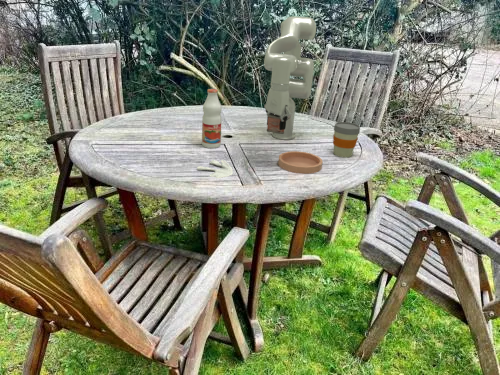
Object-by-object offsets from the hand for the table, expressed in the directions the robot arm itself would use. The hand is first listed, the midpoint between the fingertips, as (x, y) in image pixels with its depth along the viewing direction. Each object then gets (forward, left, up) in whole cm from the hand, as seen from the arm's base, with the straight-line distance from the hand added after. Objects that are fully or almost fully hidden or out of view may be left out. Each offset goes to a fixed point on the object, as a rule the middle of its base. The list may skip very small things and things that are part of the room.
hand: (275, 126), depth 180 cm
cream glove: (-10, -26, -18) cm, 33 cm away
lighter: (0, 0, -3) cm, 3 cm away
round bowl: (+9, +9, -17) cm, 22 cm away
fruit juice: (-34, -10, -18) cm, 40 cm away
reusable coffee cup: (+11, +39, -18) cm, 44 cm away
